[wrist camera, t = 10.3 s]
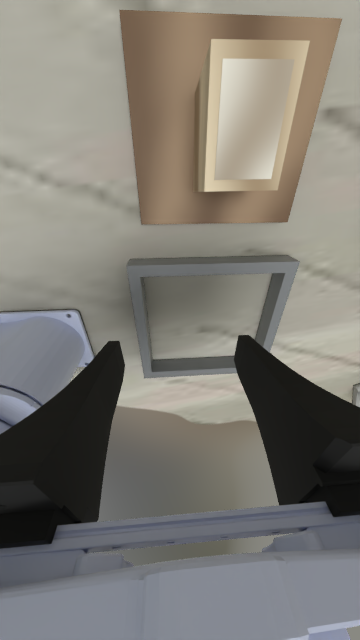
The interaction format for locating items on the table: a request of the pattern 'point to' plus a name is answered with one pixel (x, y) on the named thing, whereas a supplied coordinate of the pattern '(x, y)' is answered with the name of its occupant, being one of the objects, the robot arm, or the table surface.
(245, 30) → the walnut board
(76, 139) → the table surface
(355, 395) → the handheld gaming console
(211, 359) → the grey bin
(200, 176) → the maple block
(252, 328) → the table surface
